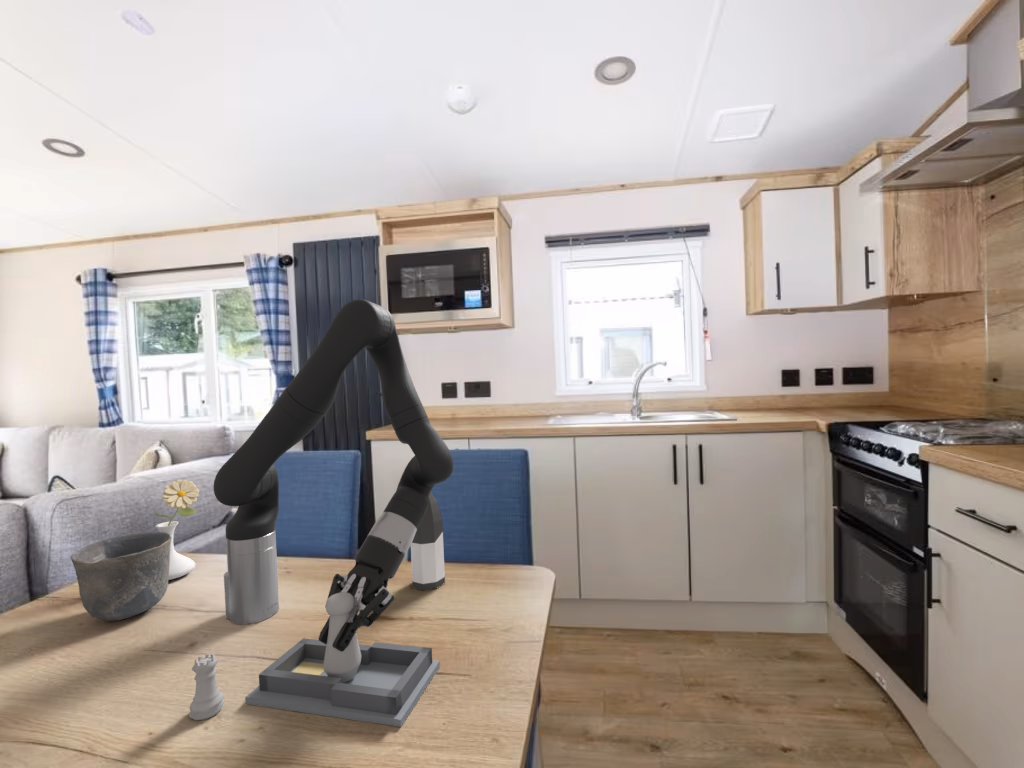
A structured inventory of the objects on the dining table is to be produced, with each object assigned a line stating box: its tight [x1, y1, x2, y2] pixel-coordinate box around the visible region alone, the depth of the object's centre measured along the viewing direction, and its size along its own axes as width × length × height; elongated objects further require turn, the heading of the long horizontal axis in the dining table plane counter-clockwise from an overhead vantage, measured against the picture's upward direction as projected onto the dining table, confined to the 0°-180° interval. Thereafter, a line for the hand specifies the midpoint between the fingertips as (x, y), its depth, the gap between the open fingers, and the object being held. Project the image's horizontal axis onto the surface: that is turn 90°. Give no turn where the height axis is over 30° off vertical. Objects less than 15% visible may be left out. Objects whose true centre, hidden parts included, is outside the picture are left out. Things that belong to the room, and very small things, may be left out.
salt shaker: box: [323, 592, 361, 683], centre depth 76 cm, size 6×6×13 cm
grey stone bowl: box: [70, 531, 172, 622], centre depth 105 cm, size 18×18×15 cm
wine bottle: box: [410, 491, 446, 591], centre depth 113 cm, size 8×8×30 cm
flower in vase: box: [154, 479, 200, 581], centre depth 124 cm, size 13×11×25 cm
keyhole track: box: [244, 637, 441, 728], centre depth 76 cm, size 26×14×4 cm, turn 76°
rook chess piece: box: [188, 653, 225, 722], centre depth 71 cm, size 4×4×8 cm
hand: (330, 645), depth 75 cm, fingers closed on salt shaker, 3 cm apart
